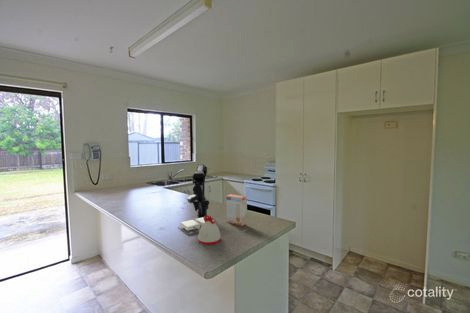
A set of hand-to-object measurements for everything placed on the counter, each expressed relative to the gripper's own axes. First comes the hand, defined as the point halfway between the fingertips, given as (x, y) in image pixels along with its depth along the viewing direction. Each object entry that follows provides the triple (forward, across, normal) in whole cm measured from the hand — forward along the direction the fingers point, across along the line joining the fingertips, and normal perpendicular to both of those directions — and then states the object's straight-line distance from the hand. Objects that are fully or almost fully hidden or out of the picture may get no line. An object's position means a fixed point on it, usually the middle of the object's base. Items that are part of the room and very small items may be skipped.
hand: (199, 212), depth 152 cm
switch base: (+11, 0, -2) cm, 11 cm away
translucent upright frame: (+11, +9, +26) cm, 29 cm away
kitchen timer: (+11, +21, -4) cm, 24 cm away
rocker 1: (+7, 0, -7) cm, 10 cm away
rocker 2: (+7, 0, +4) cm, 8 cm away
